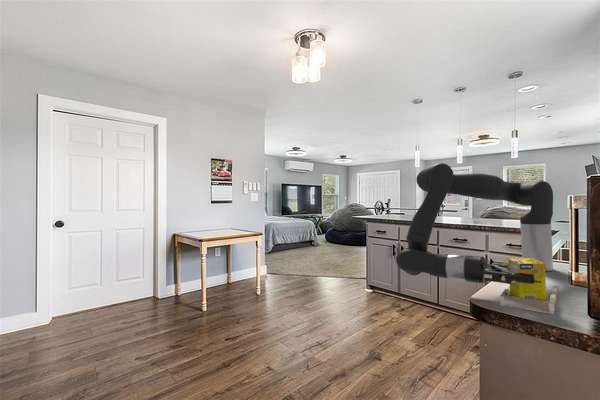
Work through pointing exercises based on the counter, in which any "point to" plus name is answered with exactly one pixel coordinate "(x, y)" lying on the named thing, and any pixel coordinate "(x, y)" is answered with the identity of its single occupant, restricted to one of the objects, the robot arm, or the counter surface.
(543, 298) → the supplement box
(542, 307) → the track dock
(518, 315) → the counter surface
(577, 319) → the counter surface
